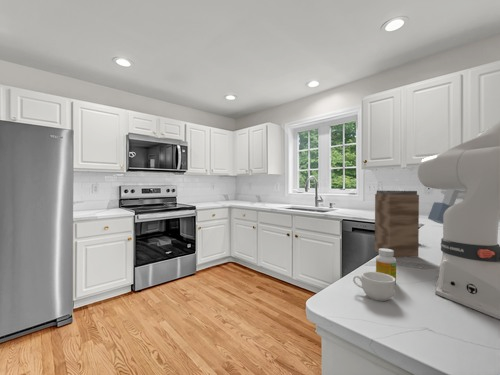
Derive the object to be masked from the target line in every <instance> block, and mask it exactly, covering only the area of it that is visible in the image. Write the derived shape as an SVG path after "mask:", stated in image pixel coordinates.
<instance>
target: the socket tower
mask: <svg viewBox="0 0 500 375" xmlns="http://www.w3.org/2000/svg"><path fill="white" fill-rule="evenodd" d="M374 197H375V198H374V253H375V252H376V253H377V254H379V249H381V248H384V249H391V250H393V251H394V256H393V257H394V258H418V257H419V242H420V241H419V235H420V233H419V232H420V231H419V229H420V228H419V227H420V226H419V222H420V221H419V218H420V216H419V215H420V204H419V203H420V195H419V194H418V191H417V190H376V193H375V194H374Z"/></svg>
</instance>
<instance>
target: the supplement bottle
mask: <svg viewBox="0 0 500 375" xmlns="http://www.w3.org/2000/svg"><path fill="white" fill-rule="evenodd" d="M393 256H394V251H393V250H391V249H384V248H381V249H379V253H378V255H377V256H376V258H375V259H376V260H375V272H379V273H384V274H387V275H390V276H392V277H394V278H395V285H396V284H397V259H396V257H393Z"/></svg>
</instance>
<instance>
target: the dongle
mask: <svg viewBox="0 0 500 375" xmlns="http://www.w3.org/2000/svg"><path fill="white" fill-rule="evenodd" d="M458 193H459V190H447V191H446V193H445V195H443V196H444V197H443V198H442V201H441V202H438V201H437V202H435V201H434V202H433V204H432V207H431V208H430V212H429V214H428V217H427V219H428V220H431V221H432V222H434V223H437V224H441V225H443V215H444V212H445V211H446V210H447V209H448V208H449V207H451V206H453V205H455V202H456V200H457V199H456V198H457V195H458Z"/></svg>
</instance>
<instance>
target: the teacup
mask: <svg viewBox="0 0 500 375" xmlns="http://www.w3.org/2000/svg"><path fill="white" fill-rule="evenodd" d="M356 278H357V279H359V281H360V283H361V284H359V283H357V282H356ZM352 281H353V283H354V284H355V286H357V287H358V288H361V289H362V290H363V292H364V294H365V295H366V297H369V299H371V300H374V301H378V302H385V301H388V300H390V299H391V298H392V297H394V293H395V287H396V284H395V278H394V277H392V276H390V275H387V274H384V273H379V272H376V271H364V272H362V273H361V276H360V275H354V276H353V279H352Z"/></svg>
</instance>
